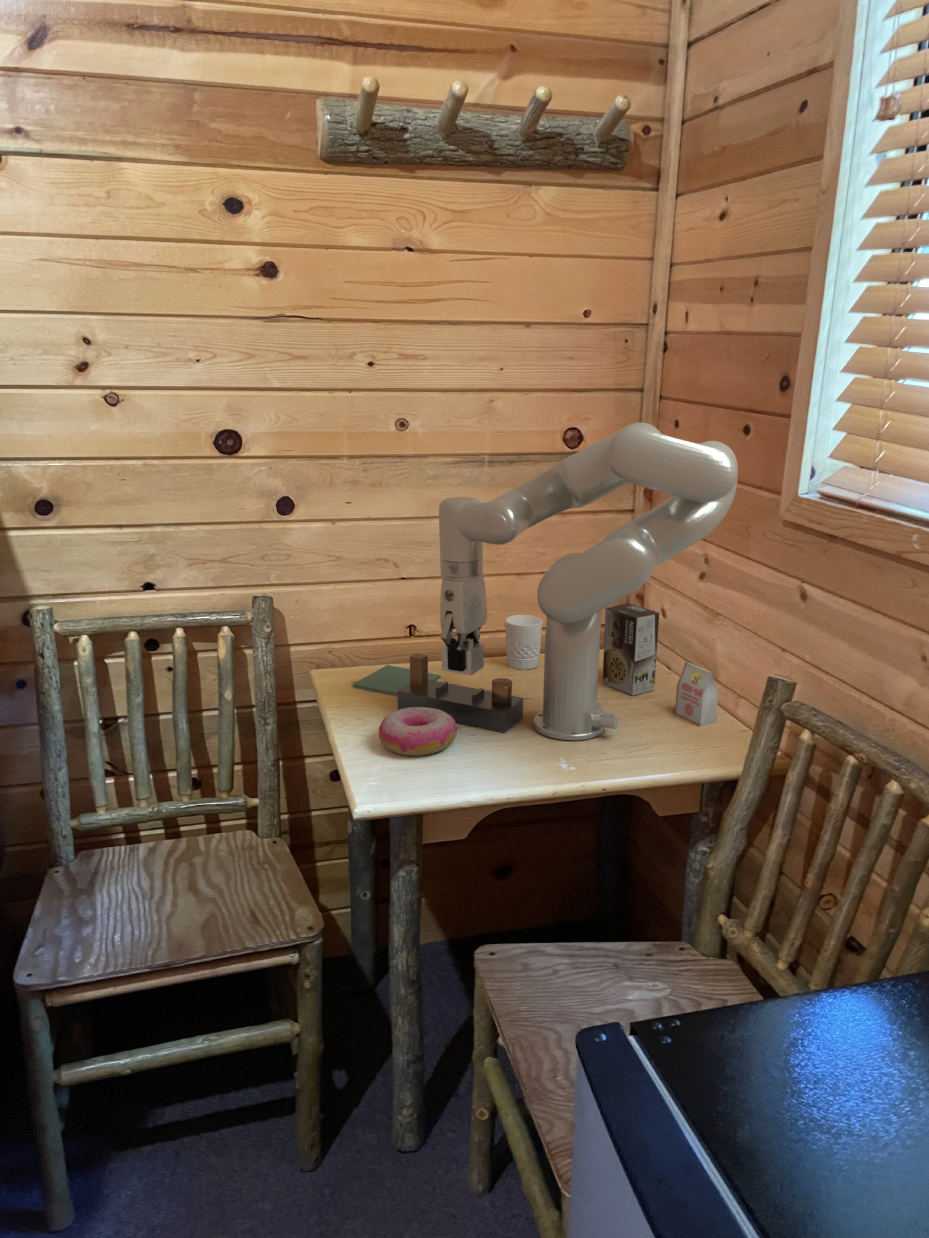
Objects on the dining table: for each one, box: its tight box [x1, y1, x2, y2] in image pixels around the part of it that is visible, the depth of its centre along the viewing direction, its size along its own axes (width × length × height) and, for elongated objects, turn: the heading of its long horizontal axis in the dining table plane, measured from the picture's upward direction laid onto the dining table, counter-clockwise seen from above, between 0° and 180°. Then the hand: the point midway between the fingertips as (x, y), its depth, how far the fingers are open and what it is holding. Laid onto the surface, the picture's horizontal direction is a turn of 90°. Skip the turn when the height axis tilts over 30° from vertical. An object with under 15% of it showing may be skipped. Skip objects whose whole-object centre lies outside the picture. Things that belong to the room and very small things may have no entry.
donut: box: [378, 707, 458, 757], centre depth 158 cm, size 14×13×5 cm
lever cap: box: [441, 636, 485, 676], centre depth 168 cm, size 6×5×6 cm
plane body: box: [397, 653, 524, 734], centre depth 170 cm, size 22×8×10 cm, turn 63°
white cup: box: [504, 614, 544, 671], centre depth 197 cm, size 8×8×10 cm
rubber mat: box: [352, 664, 442, 697], centre depth 187 cm, size 13×13×1 cm
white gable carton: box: [674, 661, 719, 727], centre depth 169 cm, size 4×7×10 cm, turn 30°
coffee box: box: [601, 602, 660, 697], centre depth 183 cm, size 9×6×16 cm
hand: (463, 664), depth 168 cm, fingers closed on lever cap, 5 cm apart
